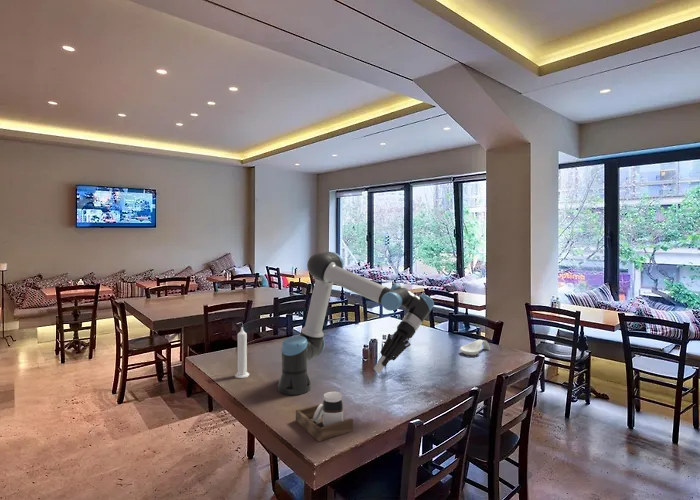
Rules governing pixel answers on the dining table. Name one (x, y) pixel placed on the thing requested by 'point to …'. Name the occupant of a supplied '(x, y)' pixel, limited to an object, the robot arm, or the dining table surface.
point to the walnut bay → (322, 432)
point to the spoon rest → (474, 347)
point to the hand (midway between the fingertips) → (376, 370)
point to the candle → (242, 355)
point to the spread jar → (330, 409)
